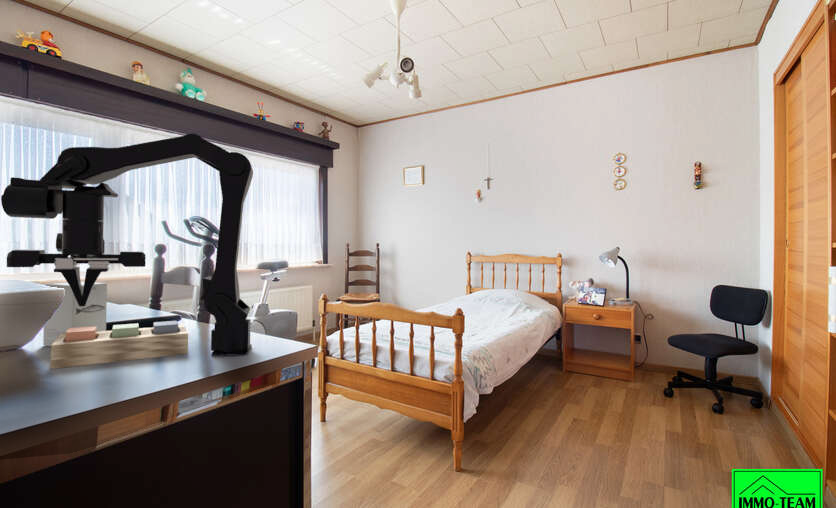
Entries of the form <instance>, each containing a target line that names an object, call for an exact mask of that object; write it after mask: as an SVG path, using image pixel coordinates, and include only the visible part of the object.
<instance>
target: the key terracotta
mask: <svg viewBox="0 0 836 508" xmlns="http://www.w3.org/2000/svg"><path fill="white" fill-rule="evenodd" d="M90 339H97V326H93V327H79V328H69V329H68V330H67V331H66V341H78V340H90Z"/></svg>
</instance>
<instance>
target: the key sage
mask: <svg viewBox="0 0 836 508" xmlns="http://www.w3.org/2000/svg"><path fill="white" fill-rule="evenodd" d="M139 328H140V327H139V323H138V322H137V323H126V324H124V323H123V324H113V325H112V329H111V330H112V338H114V337H126V336H137V335H139Z"/></svg>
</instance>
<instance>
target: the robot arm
mask: <svg viewBox="0 0 836 508" xmlns="http://www.w3.org/2000/svg"><path fill="white" fill-rule="evenodd" d="M193 158H194V159H197V160H199V161H201V162H202V163H204V164H206V165H208V166H209V167H211V168H213V169H214V170H216V171H218V174H219V184H220V185H219V186H220V189H221V198H222V199H221V200H222V201H221V202H222V203H221V209H220V211H221V212H220V220H219V229H218V239H217V249H216V258H215V259H216V260H215V268H214V271H213V273H212V276H210V275H208V276H205V277H204V278H202V286H203V287H202V288H203V290H202V291H203V292H202V295H201V297H200V301H203V307H204V309H205V310H206V312H208V313H209V314H210V315H211V316H213V318H214V319H215V322H214V327H213V329H212V330H211V331H210V333H211V334H210V335H211V336H210V351H212V352H211V356H213V357H214V356H238V355H239V356H241V355H242V356H243V355H248V354H249V352H250V350H251V349H252V347H253V345H252V344H251V327H252V326H251V322H252V321H251V319H248V318H247V317H248V316H249V314H250V311H251V307H250V306H249V305H248V304H247V303H246V302H244V300H242V299H241V296H240V283H239V278H238V270H237V269H238V258H239V249H240V248H239V247H240V240H241V231H242V223H243V222H242V221H243V212H244V205H245V204H244V203H245V201H246V200H245V199H246V197H247V195H248V193H249V190H250V187H251V183H252V180H253V177H254V176H253V175H254V170H253V166H252V164H251V161H250V160H249V159H248V157H247V156H246V155H244V154H243V153H240V152H237V151H235V152H233V151H231V152H229V150H228V151H227V150H226V149H224V148H223V147H221V146H219V145H217V144H214V143H213V142H211V141H208V140H206V139H204V138H203V137H202V136H201V135H199V134H197V133H194V132H193V133H191V132H190V133H189V132H188V133H187V134H184V135H181V136H176V137H169V138H164V139H160V140H159V139H157V140H152V141H147V142H143V143H137V144H131V145H125V146H121V147H103V146H102V147H101V146H100V147H99V146H76V147H75V146H73V147H72V146H71V147H68V148H65V149H63V150H62V151H61V152H60V154H59V155H58V157H57V161H56V163H55V164H54V165H53V166H52V167H51V168H50V169H49V170H48V171H47V172H46V173H45V174H44V175H43V176H42V177H41V178H40V179H27V178H22V177H11V178H10V182H9V183H10V184H8V185H7V186H6V187H5V188H4V191H3V194H2V195H1V197H0V201H1V206H2V209H3V211H4V213H5V215H6V216H8V217H11V218H24V219H25V218H26V219H29V218H30V219H46V220H47V219H48V220H49V219H50V220H51V219H52V220H53V219H56V218H57V217H58V215H61V214H62V215H61V216H62V218H61V219H62V223H61V226H62V227H61V228H62V229H61V230H62V231H61V233H60V232H59V233H57V234H56V239H55V240H56V241H55V249H56V251H57V252H60V253H46V251H45V250H46V249H13V250H11V251H9V252H8V253H7V254H6V268H33V267H35V266H40V265H41V264H43V265H44V264H45V265H46V264H54V265H53V266H55V267H54V268H53V272H54V273H61V275H62V276H63V277H64V279H65V280H66V283H68V284H69V285H70V287H71V289H72V291H73V294H74V296H75V298H76V300H77V303H78V305H79V306H80V307H81V306H85V305H86V303H87V300H88V298H89V295H90V293H91V290H92V288H93V285H94V283H95V282H97V280H98V278H99V276H100V275H101V273H106V272H108V271H109V270H110V267H109V265H110V264H116V265H117V264H121V265H122V266H123V267H125V268H128V267H129V268H130V267H133V268H135V267H137V268H141V267H142V268H143V267H146V253H145V252H143V251H141V250H120V251H119V253H117V254H116V253H113V254H112V253H105V250H106V249H105V248H106V247H105V246H106V244H105V243H106V242H105V240H104V219H105V218H104V216H105V215H104V214H105V213H104V212H105V210H104V208H105V205H104V204H105V198H118V197H119V194H118V193H116V191H114V190H113V189H112V188H111V187H110V186H109V184H107V183H105V182H107V181H110V180H112V179H116V178H118V177H119V176H121V175H122V174H123V175H124V173H126V172H129V171H133V170H138V169H142V168H147V167H152V166H158V165H162V164H163V165H164V164H168V163H173V162H178V161H183V160H189V159H193ZM87 185H91V186H87ZM93 185H96V186H93ZM79 264H80V265H83V264H88V266H89V267H88V268H86V271H85V277H84V281H83V282H84V289H83V295H82V288H81V282H82V281H81V274H80V273H81V271H80V267H79V266H77V265H79Z"/></svg>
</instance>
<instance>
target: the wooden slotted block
mask: <svg viewBox="0 0 836 508" xmlns="http://www.w3.org/2000/svg"><path fill="white" fill-rule="evenodd" d="M153 327H154V326H152V327H139V335H137V336H126V337H114V338H112V329H111V330H106V331H98V332H97V339H90V340H78V341H66V334H60V335H59V336H58V337H57V339H56V340H55V341H54V343H53V344H52V345H51V346H50V349H51V350H50V351H51V352H50V355H51V356H50V361H51V362H50V369H51V370H54V369H63V368H72V367H80V366H81V367H82V366H90V365H98V364H106V363H108V364H109V363H115V362H116V363H118V362H125V361H133V360H143V359H144V360H145V359H152V358H161V357H169V356H179V355H188V352H189V332H188V330H187V329H186V326H185V325H184V324H182V325H181V324H178V332H173V333H161V334H153Z"/></svg>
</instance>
